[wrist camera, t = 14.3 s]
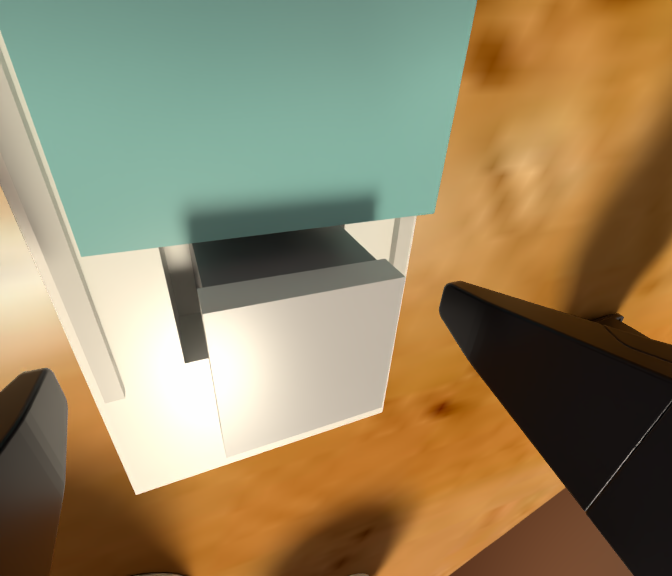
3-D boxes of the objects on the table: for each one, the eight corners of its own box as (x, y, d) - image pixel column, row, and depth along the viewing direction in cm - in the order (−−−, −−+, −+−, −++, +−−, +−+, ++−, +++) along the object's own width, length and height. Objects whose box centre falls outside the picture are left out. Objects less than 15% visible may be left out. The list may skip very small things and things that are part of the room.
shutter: (381, 181, 10) (434, 213, 9) (95, 204, 8) (80, 257, 6) (412, -89, 8) (503, -132, 6) (-24, -187, 5) (-127, -325, 3)
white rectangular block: (299, 279, 14) (381, 407, 9) (194, 296, 13) (226, 458, 8) (299, 180, 12) (405, 276, 7) (175, 189, 11) (202, 314, 6)
